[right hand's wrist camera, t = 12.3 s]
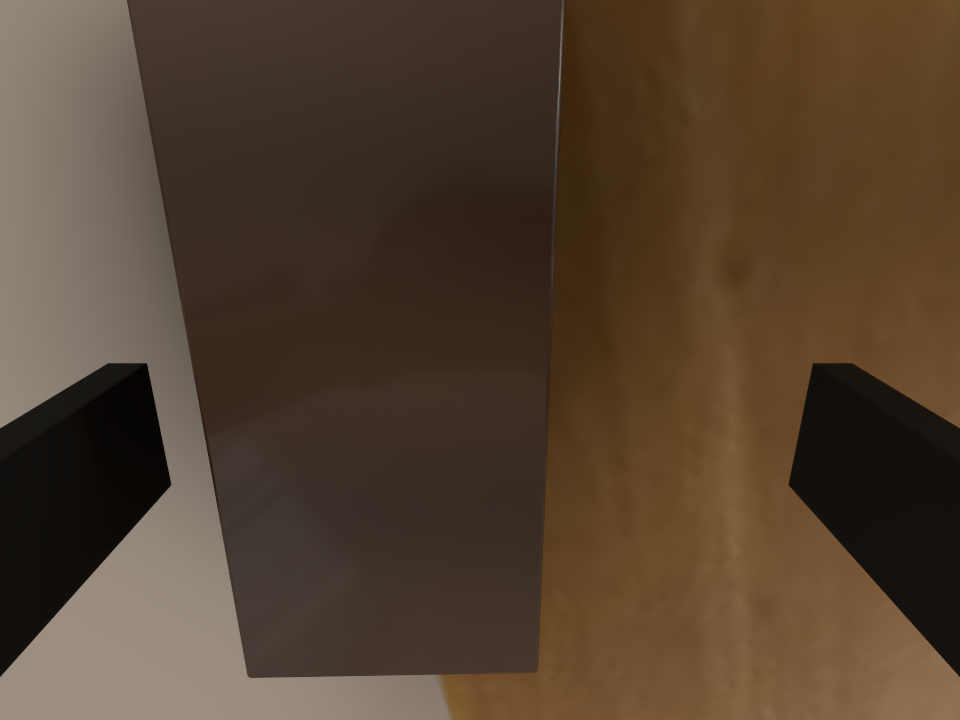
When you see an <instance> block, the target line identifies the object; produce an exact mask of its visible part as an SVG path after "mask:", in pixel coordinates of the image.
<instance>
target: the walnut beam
mask: <svg viewBox="0 0 960 720" xmlns="http://www.w3.org/2000/svg"><path fill="white" fill-rule="evenodd" d="M127 3H128V8H129V14H130V19H131V25H132V31H133V36H134V42H135V48H136V53H137V59H138V64H139V70H140V75H141V81H142V87H143V92H144V98H145V104H146V109H147V115H148V120H149V126H150V132H151V137H152V143H153V148H154V154H155V160H156V165H157V171H158V176H159V182H160V188H161V193H162V199H163V204H164V210H165V216H166V221H167V227H168V232H169V238H170V244H171V249H172V255H173V260H174V266H175V271H176V277H177V283H178V288H179V294H180V300H181V305H182V311H183V316H184V322H185V328H186V333H187V339H188V344H189V350H190V356H191V361H192V367H193V372H194V378H195V384H196V389H197V395H198V400H199V406H200V412H201V417H202V423H203V428H204V434H205V440H206V445H207V451H208V456H209V462H210V468H211V473H212V479H213V485H214V490H215V496H216V501H217V507H218V512H219V518H220V524H221V529H222V535H223V541H224V546H225V552H226V557H227V563H228V569H229V574H230V580H231V585H232V591H233V596H234V602H235V608H236V613H237V619H238V625H239V630H240V636H241V641H242V647H243V653H244V658H245V664H246V669H247V675H248V677H250V678H265V677H320V676H376V675H431V674H488V673H534V672H536V671H537V669H538V657H539V633H540V609H541V585H542V560H543V536H544V512H545V488H546V464H547V440H548V416H549V391H550V367H551V343H552V319H553V295H554V271H555V247H556V223H557V198H558V174H559V150H560V126H561V102H562V78H563V54H564V29H565V5H566V0H127Z"/></svg>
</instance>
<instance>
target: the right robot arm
mask: <svg viewBox="0 0 960 720" xmlns="http://www.w3.org/2000/svg"><path fill="white" fill-rule="evenodd" d="M170 486H171V481H170V476H169V471H168V466H167V461H166V456H165V451H164V446H163V441H162V436H161V431H160V426H159V421H158V416H157V411H156V406H155V401H154V396H153V391H152V386H151V381H150V376H149V371H148V366H147V363H108V364H106V365H105V366H103V367H101V368H100V369H98V370H96V371H95V372H93V373H91V374H90V375H88V376H86V377H85V378H83V379H81V380H80V381H78V382H76V383H75V384H73V385H71V386H70V387H68V388H67V389H65V390H63V391H62V392H60V393H58V394H57V395H55V396H53V397H52V398H50V399H48V400H47V401H45V402H43V403H42V404H40V405H38V406H37V407H35V408H33V409H32V410H30V411H28V412H27V413H25V414H23V415H22V416H20V417H18V418H17V419H15V420H14V421H12V422H10V423H9V424H7V425H5V426H4V427H2V428H0V677H1V675H2V674H3V673H4V672H5V671H6V670H7V669H8V668H9V666H10V665H11V664H12V663H13V662H14V661H15V660H16V659H17V658H18V656H19V655H20V654H21V653H22V652H23V651H24V650H25V649H26V647H27V646H28V645H29V644H30V643H31V642H32V641H33V640H34V638H35V637H36V636H37V635H38V634H39V633H40V632H41V631H42V629H43V628H44V627H45V626H46V625H47V624H48V623H49V622H50V620H51V619H52V618H53V617H54V616H55V615H56V614H57V613H58V612H59V610H60V609H61V608H62V607H63V606H64V605H65V604H66V603H67V601H68V600H69V599H70V598H71V597H72V596H73V595H74V594H75V592H76V591H77V590H78V589H79V588H80V587H81V586H82V585H83V584H84V582H85V581H86V580H87V579H88V578H89V577H90V576H91V575H92V573H93V572H94V571H95V570H96V569H97V568H98V567H99V566H100V564H101V563H102V562H103V561H104V560H105V559H106V558H107V557H108V555H109V554H110V553H111V552H112V551H113V550H114V549H115V548H116V546H117V545H118V544H119V543H120V542H121V541H122V540H123V539H124V538H125V536H126V535H127V534H128V533H129V532H130V531H131V530H132V529H133V527H134V526H135V525H136V524H137V523H138V522H139V521H140V520H141V518H142V517H143V516H144V515H145V514H146V513H147V512H148V511H149V509H150V508H151V507H152V506H153V505H154V504H155V503H156V502H157V501H158V499H159V498H160V497H161V496H162V495H163V494H164V493H165V492H166V490H167V489H168V488H169V487H170ZM789 486H790V487H791V488H792V489H793V490H794V492H795V493H796V494H797V495H798V496H799V497H800V498H801V499H802V501H803V502H804V503H805V504H806V505H807V506H808V507H809V508H810V510H811V511H812V512H813V513H814V514H815V515H816V516H817V517H818V518H819V520H820V521H821V522H822V523H823V524H824V525H825V526H826V527H827V529H828V530H829V531H830V532H831V533H832V534H833V535H834V536H835V538H836V539H837V540H838V541H839V542H840V543H841V544H842V545H843V547H844V548H845V549H846V550H847V551H848V552H849V553H850V554H851V555H852V557H853V558H854V559H855V560H856V561H857V562H858V563H859V564H860V566H861V567H862V568H863V569H864V570H865V571H866V572H867V573H868V575H869V576H870V577H871V578H872V579H873V580H874V581H875V582H876V584H877V585H878V586H879V587H880V588H881V589H882V590H883V591H884V592H885V594H886V595H887V596H888V597H889V598H890V599H891V600H892V601H893V603H894V604H895V605H896V606H897V607H898V608H899V609H900V610H901V612H902V613H903V614H904V615H905V616H906V617H907V618H908V619H909V621H910V622H911V623H912V624H913V625H914V626H915V627H916V628H917V629H918V631H919V632H920V633H921V634H922V635H923V636H924V637H925V638H926V640H927V641H928V642H929V643H930V644H931V645H932V646H933V647H934V649H935V650H936V651H937V652H938V653H939V654H940V655H941V656H942V658H943V659H944V660H945V661H946V662H947V663H948V664H949V665H950V667H951V668H952V669H953V670H954V671H955V672H956V673H957V674H958V675H959V677H960V428H958V427H956V426H955V425H953V424H951V423H950V422H948V421H946V420H945V419H943V418H942V417H940V416H938V415H937V414H935V413H933V412H932V411H930V410H928V409H927V408H925V407H923V406H922V405H920V404H918V403H917V402H915V401H913V400H912V399H910V398H908V397H907V396H905V395H903V394H902V393H900V392H898V391H897V390H895V389H893V388H892V387H890V386H889V385H887V384H885V383H884V382H882V381H880V380H879V379H877V378H875V377H874V376H872V375H870V374H869V373H867V372H865V371H864V370H862V369H860V368H859V367H857V366H855V365H854V364H852V363H813V366H812V371H811V376H810V381H809V386H808V391H807V396H806V401H805V406H804V411H803V416H802V421H801V426H800V431H799V436H798V441H797V446H796V451H795V456H794V461H793V466H792V471H791V476H790V481H789Z"/></svg>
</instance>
